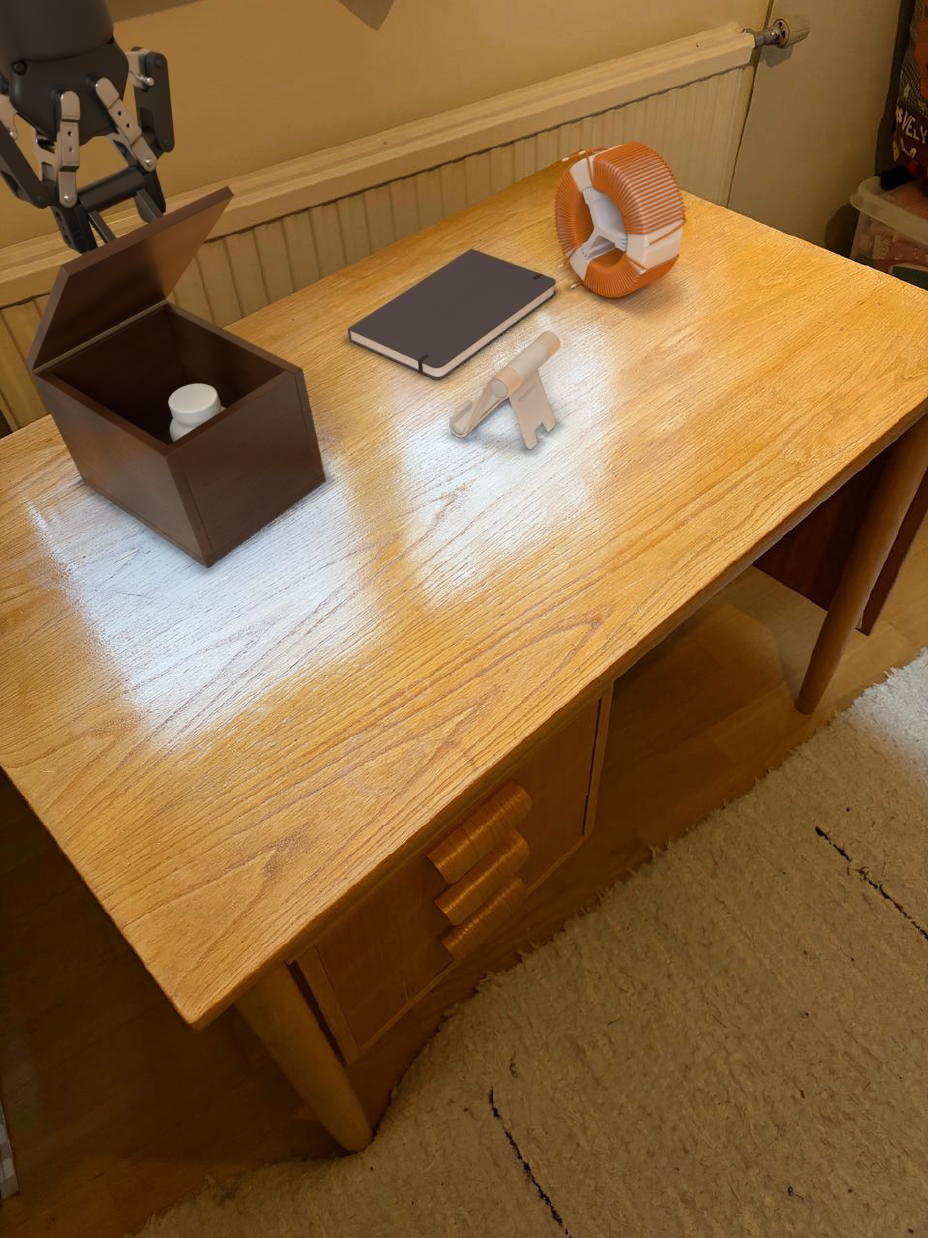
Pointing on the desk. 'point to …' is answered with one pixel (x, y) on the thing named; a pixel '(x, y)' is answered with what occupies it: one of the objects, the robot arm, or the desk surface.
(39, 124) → the robot arm
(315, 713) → the desk surface
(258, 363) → the chest
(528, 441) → the tablet stand
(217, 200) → the lid
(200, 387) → the pill bottle
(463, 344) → the notebook
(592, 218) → the coil
